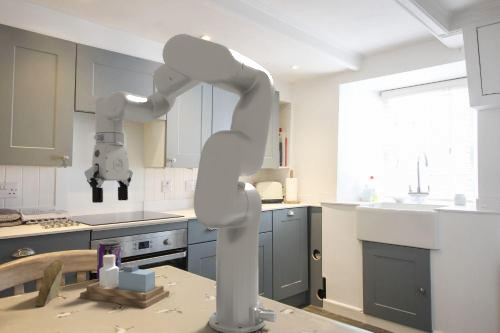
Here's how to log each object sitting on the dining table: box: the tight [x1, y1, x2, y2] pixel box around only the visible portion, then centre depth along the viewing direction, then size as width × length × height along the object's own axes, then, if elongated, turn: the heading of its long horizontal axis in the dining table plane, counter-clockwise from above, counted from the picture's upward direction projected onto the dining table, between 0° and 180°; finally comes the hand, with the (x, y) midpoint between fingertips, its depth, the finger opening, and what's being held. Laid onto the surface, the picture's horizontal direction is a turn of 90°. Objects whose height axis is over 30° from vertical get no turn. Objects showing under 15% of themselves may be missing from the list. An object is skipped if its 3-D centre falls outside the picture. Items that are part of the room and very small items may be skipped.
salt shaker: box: [98, 255, 119, 288], centre depth 101 cm, size 4×4×10 cm
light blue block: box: [118, 264, 156, 293], centre depth 98 cm, size 9×4×7 cm, turn 68°
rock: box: [34, 260, 65, 307], centre depth 97 cm, size 11×9×10 cm
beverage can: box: [96, 239, 122, 280], centre depth 116 cm, size 7×7×12 cm
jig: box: [79, 281, 170, 309], centre depth 99 cm, size 22×10×3 cm, turn 68°
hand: (110, 201), depth 102 cm, fingers open, 9 cm apart
